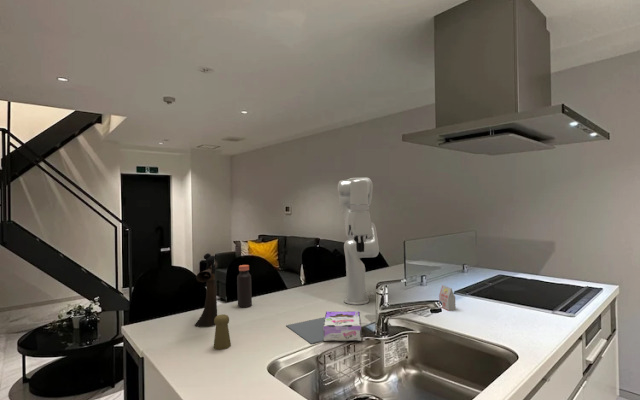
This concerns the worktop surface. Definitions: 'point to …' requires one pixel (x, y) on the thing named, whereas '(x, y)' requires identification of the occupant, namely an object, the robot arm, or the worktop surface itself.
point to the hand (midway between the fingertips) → (360, 251)
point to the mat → (309, 330)
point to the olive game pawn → (221, 332)
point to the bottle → (244, 287)
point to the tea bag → (447, 298)
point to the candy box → (342, 326)
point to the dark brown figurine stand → (208, 293)
